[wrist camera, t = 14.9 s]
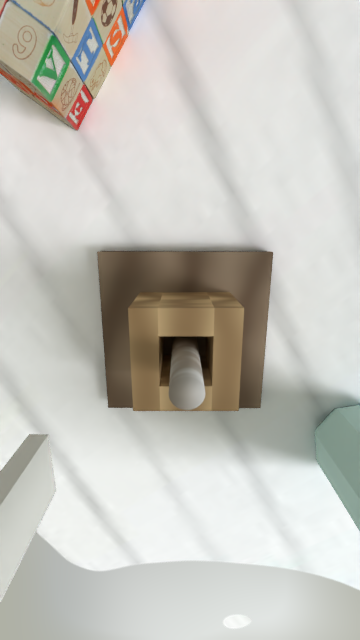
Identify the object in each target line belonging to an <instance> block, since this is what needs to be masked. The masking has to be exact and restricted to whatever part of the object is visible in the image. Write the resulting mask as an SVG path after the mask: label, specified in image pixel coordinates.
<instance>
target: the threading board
mask: <svg viewBox="0 0 360 640" xmlns="http://www.w3.org/2000/svg"><path fill="white" fill-rule="evenodd" d="M97 254H98V268H99V282H100V297H101V311H102V325H103V339H104V353H105V367H106V381H107V396H108V408H133V397H132V377H131V357H130V337H129V317H128V308H129V306H130V305H131V304H132V302H133V301H134V300H135V298H136V297H137V296H138V294H139V293H140V292H230V293H231V294H232V295H233V296H234V297H235V298H236V300H237V301H238V302H239V303H240V304H241V305H242V306H243V307H244V322H243V339H242V357H241V375H240V392H239V408H260V405H261V393H262V380H263V368H264V356H265V344H266V332H267V320H268V308H269V296H270V284H271V272H272V260H273V252H212V251H100V252H97ZM164 355H172V356H171V369H170V382H169V399H170V401H171V402H172V404H173V405H174V406H176V407H177V408H179V409H183V410H191V409H194V408H197V407H198V406H199V405H201V404H202V402H203V401H204V398H205V387H204V381H203V374H202V368H201V362H200V356H199V355H206V336H164Z"/></svg>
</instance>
